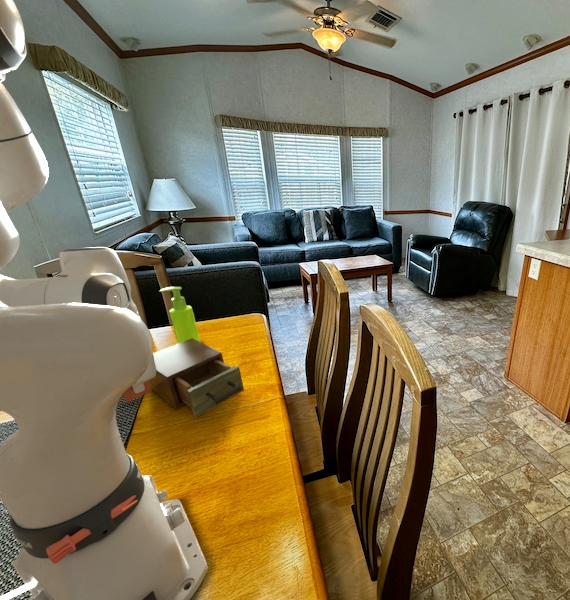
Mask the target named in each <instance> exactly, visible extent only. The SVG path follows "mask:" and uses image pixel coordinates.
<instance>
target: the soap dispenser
mask: <svg viewBox="0 0 570 600" xmlns="http://www.w3.org/2000/svg"><path fill="white" fill-rule="evenodd" d="M181 290H183V289H182V286H168V287H164V288H161V289H160V290H159V291H158V292H159V293H165V292H172V295H173V297H172V298H171V299H170V301H171V304H172V308H170V309H169V310H168V313H169V317H170V320H171V323H172V326H173V330H174V333H175V337H176V341H177V344H178V343H181V342H183V341H186V340H189V339H191V338H193V339H195V340H197V341H199V342H201V343H202V341H201V338H200V334H199V329H198V326H197V322H196V318H195V314H194V311H193V307H192V306H191V305H187V303H186V299H185V296H183V295H182V296H181Z"/></svg>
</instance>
